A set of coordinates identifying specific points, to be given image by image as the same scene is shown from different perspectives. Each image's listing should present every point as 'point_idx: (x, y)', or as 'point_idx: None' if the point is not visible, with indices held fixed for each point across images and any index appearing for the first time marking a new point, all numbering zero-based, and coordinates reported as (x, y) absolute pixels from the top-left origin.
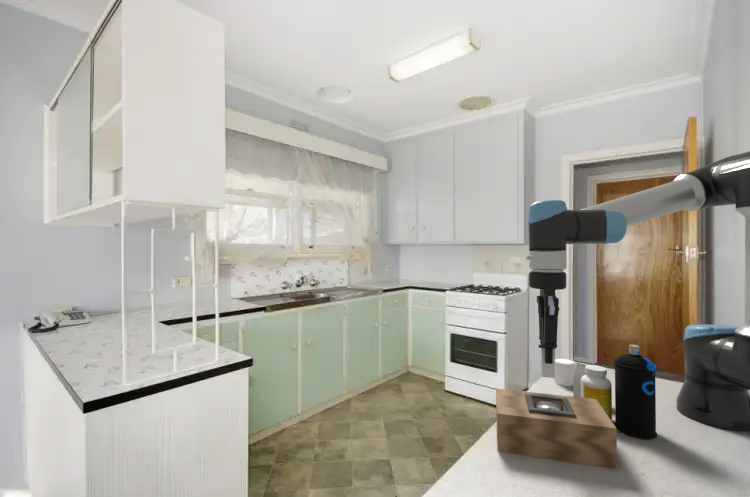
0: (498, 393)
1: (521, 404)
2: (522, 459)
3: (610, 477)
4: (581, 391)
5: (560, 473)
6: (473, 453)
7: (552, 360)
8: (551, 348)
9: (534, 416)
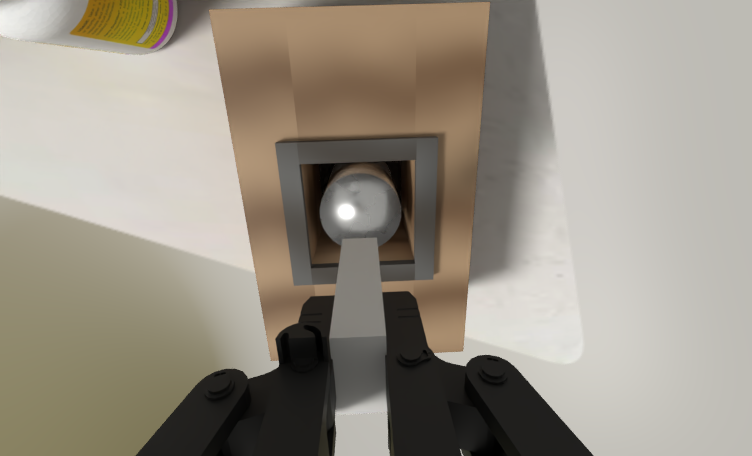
0: None
1: None
2: None
3: (492, 55)
4: (77, 46)
5: (499, 171)
6: None
7: (417, 304)
8: (446, 371)
9: (458, 261)
